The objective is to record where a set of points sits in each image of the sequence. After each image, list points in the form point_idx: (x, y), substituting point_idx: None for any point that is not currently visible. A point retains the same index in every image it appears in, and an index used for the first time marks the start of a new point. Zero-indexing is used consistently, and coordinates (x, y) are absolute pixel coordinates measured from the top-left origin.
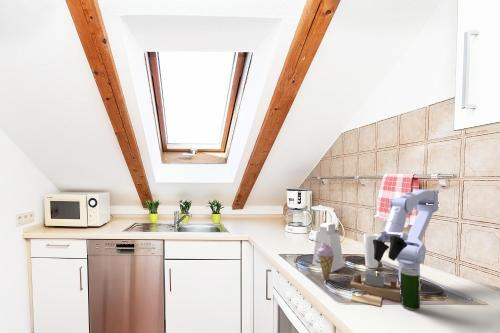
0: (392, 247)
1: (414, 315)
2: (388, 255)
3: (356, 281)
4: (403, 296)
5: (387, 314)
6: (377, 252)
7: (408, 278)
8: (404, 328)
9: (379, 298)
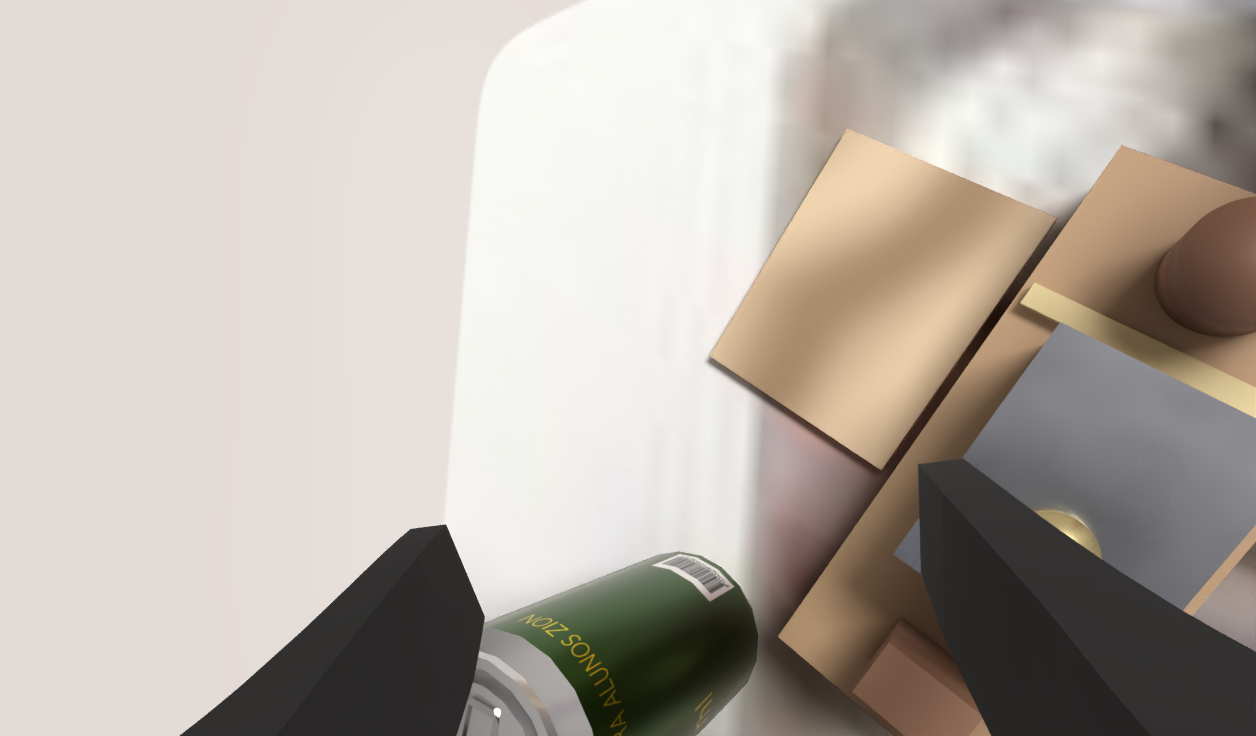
0: (227, 702)
1: (575, 545)
2: (423, 543)
3: (1172, 247)
4: (633, 567)
5: (602, 350)
6: (1010, 622)
7: None
8: (457, 364)
9: (854, 428)
